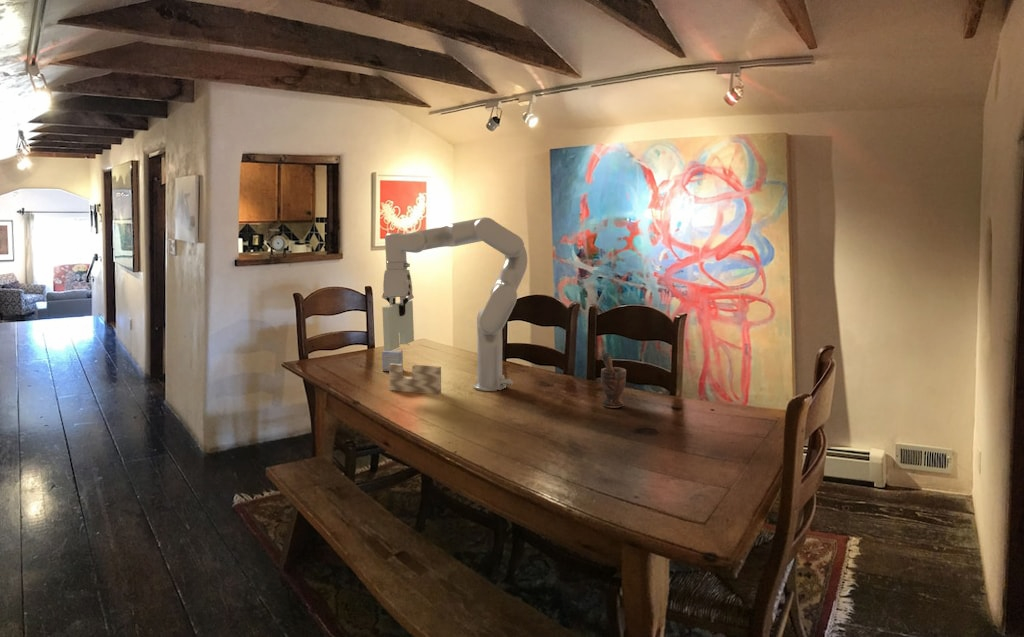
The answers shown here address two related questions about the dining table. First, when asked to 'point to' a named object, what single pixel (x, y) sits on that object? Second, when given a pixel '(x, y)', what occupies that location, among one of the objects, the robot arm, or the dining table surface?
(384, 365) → the medicine box
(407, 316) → the sage plate
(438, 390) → the maple board
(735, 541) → the dining table surface
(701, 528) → the dining table surface
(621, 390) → the mortar and pestle
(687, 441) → the dining table surface
